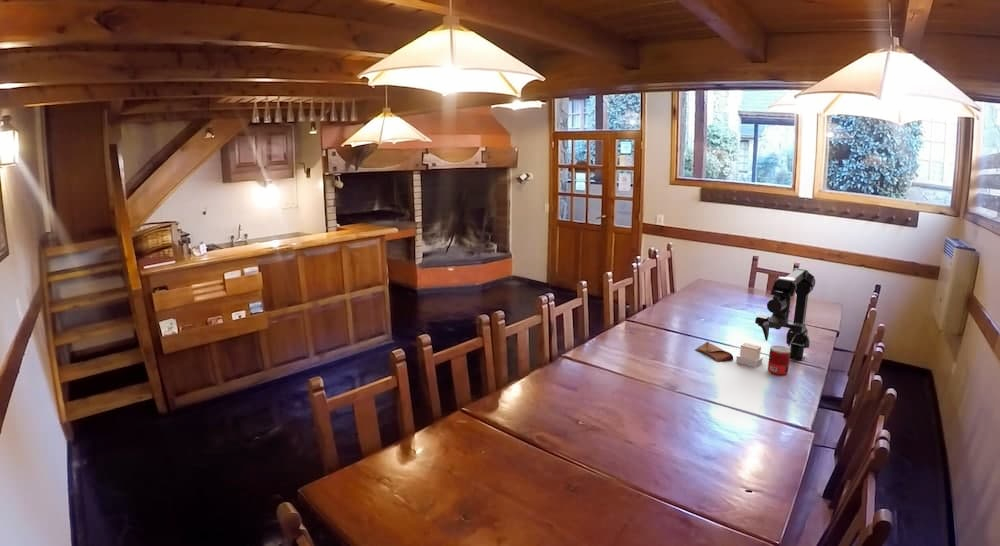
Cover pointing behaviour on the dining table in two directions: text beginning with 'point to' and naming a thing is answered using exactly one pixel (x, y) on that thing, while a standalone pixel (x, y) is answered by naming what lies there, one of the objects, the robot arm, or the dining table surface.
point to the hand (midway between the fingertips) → (777, 343)
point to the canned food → (779, 360)
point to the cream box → (750, 351)
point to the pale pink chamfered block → (749, 361)
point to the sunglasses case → (715, 352)
